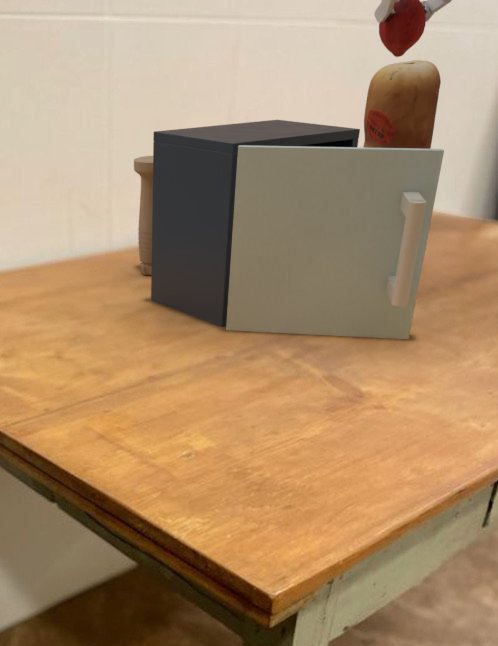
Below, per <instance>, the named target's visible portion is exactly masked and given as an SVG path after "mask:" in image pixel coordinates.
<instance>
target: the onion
mask: <svg viewBox="0 0 498 646" xmlns="http://www.w3.org/2000/svg"><path fill="white" fill-rule="evenodd" d="M393 8H394V10H395V12H396V13H395V15H394V16H393V17H392V18H391V19H390V20H389V21H388V22H386V23H378V35H379V38H380V41H381V43H382V45H383V46H384V47H385V48H386V50H388V52H390V53H391V54H392V55H393V57H395V58H399V57H402V56H404V55H405V53H407V51H409V50H410V49H411V48H412V47H413V46H415V45H416V43H418V41H419V40H420V39H421V37H422V36H423V34H424V32H425V28H426V23H427V22H426V16H425V10H424V7H423V5H422V3H421V0H400V1H399V2H395V3H394V7H393Z"/></svg>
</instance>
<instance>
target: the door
mask: <svg viewBox="0 0 498 646" xmlns="http://www.w3.org/2000/svg"><path fill="white" fill-rule="evenodd" d="M444 154H445V150H444V149H443V148H431V149H419V148H363V147H361V146H360V147H308V146H253V145H239V146H238V158H237V173H236V188H235V203H234V218H233V233H232V249H231V264H230V279H229V294H228V309H227V324H226V326H225V330H226V331H235V332H252V333H253V332H256V333H272V334H273V333H274V334H275V333H276V334H294V335H315V336H333V337H334V336H336V337H354V338H374V339H375V338H376V339H394V340H409V339H410V333H411V328H412V322H413V318H414V317H413V316H414V312H415V307H416V303H417V302H416V301H417V296H418V291H419V286H420V280H421V276H422V270H423V265H424V259H425V254H426V250H427V244H428V238H429V233H430V227H431V223H432V217H433V213H434V212H433V211H434V207H435V201H436V196H437V190H438V186H439V181H440V175H441V171H442V170H441V169H442V164H443V159H444Z"/></svg>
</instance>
